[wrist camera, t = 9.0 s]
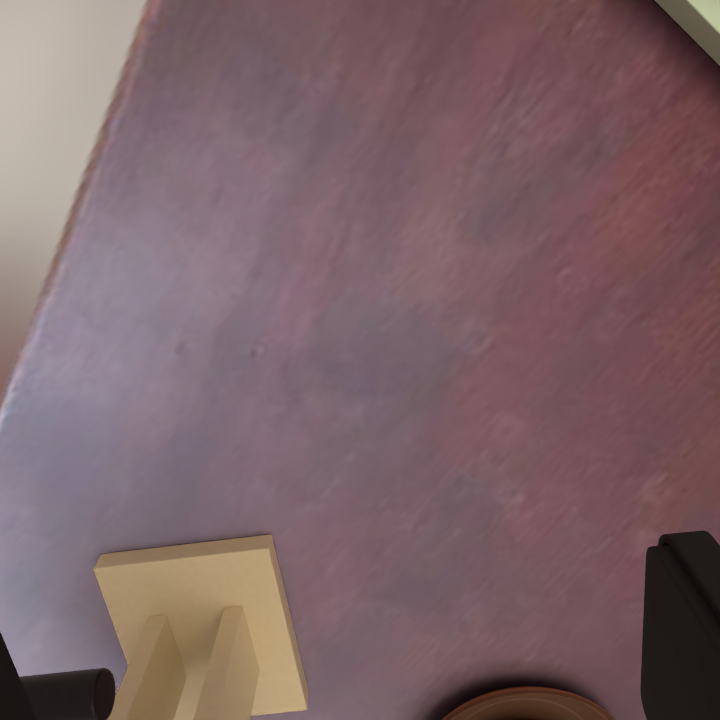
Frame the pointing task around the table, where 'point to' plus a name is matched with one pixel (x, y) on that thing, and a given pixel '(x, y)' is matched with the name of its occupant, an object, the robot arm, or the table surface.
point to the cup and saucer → (529, 706)
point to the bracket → (203, 631)
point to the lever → (71, 694)
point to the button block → (698, 22)
